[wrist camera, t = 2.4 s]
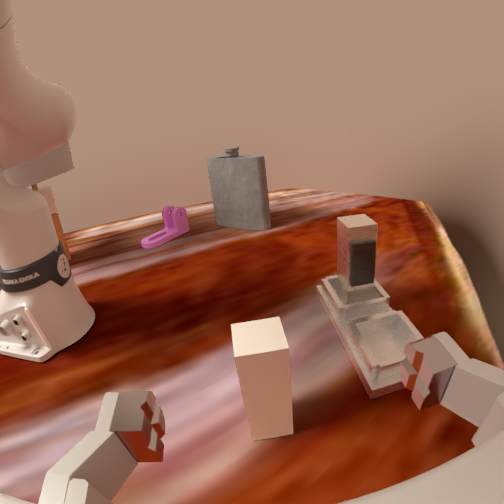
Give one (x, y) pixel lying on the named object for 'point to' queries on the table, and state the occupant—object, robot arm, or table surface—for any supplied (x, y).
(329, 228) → the table surface
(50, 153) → the lamp
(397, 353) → the pillar on stepped tray
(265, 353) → the loose rectangular block
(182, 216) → the bracket
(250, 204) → the hip flask
